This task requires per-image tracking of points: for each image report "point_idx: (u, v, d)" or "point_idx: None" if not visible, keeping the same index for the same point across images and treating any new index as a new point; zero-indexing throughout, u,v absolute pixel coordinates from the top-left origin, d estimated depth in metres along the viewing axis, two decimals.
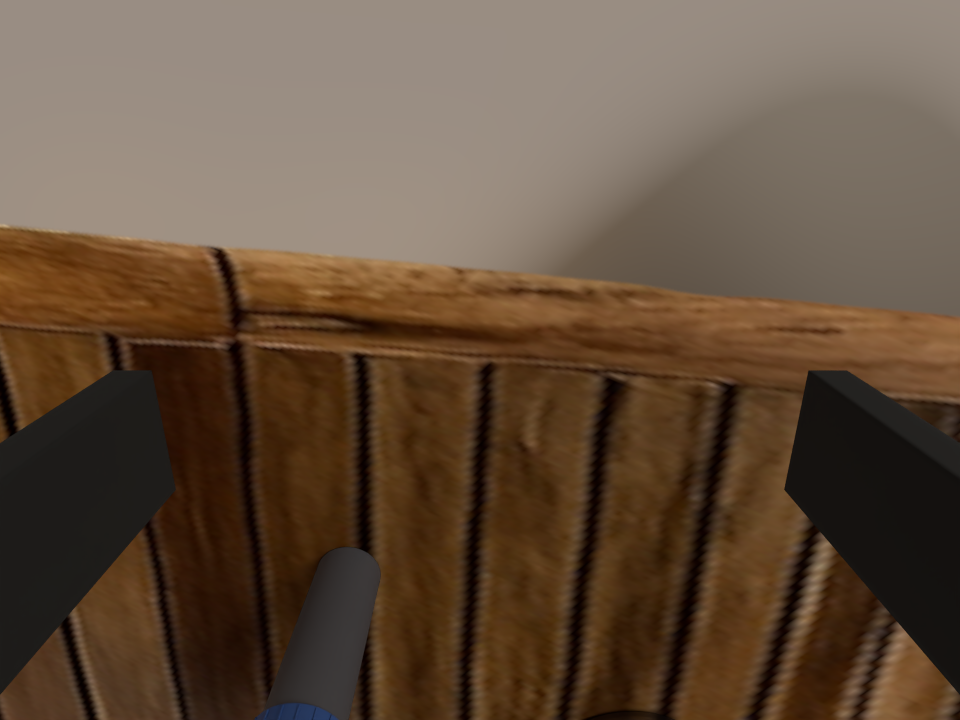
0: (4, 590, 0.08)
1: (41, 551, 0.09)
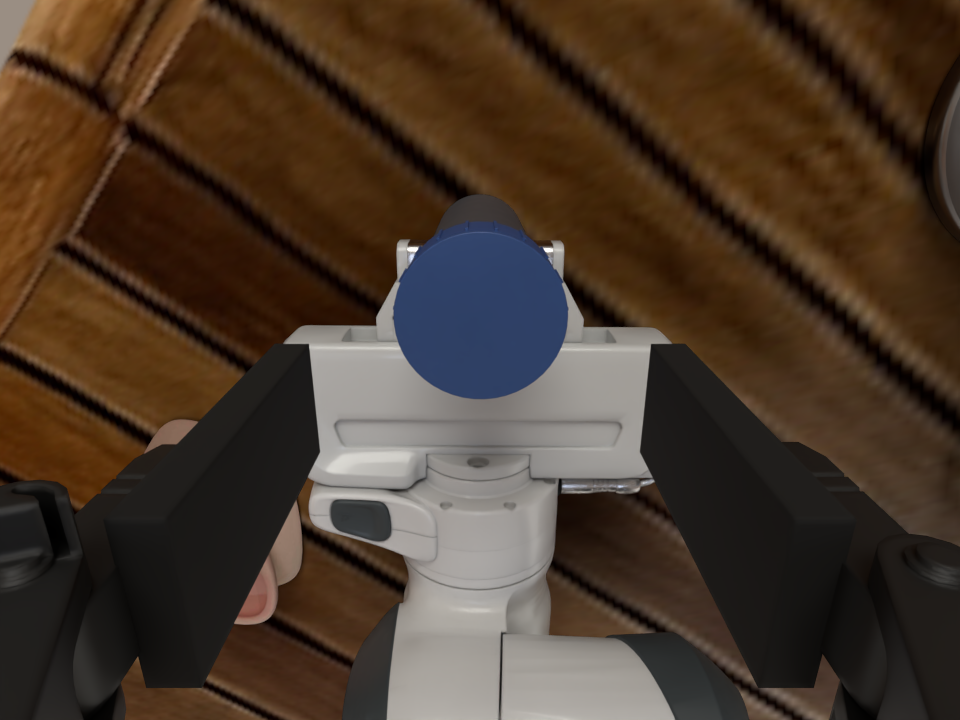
0: (243, 519, 0.10)
1: (260, 491, 0.10)
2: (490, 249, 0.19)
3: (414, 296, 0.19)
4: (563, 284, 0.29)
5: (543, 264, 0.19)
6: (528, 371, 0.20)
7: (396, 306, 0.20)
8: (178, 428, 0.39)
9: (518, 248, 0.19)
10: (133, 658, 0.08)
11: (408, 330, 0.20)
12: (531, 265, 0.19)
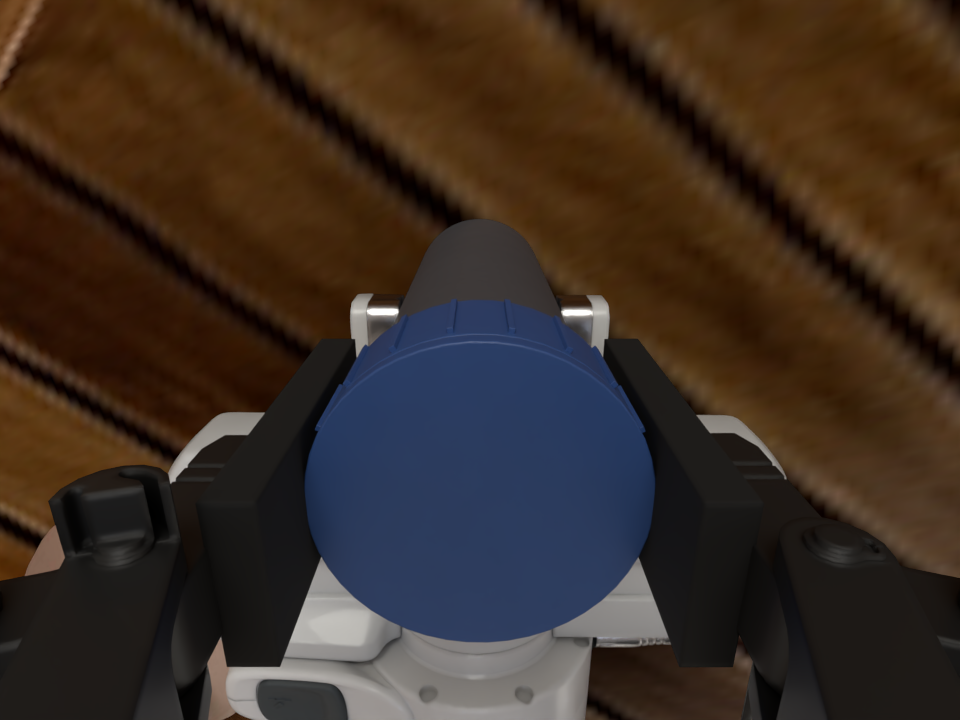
0: None
1: None
2: (500, 376, 0.09)
3: (344, 465, 0.10)
4: None
5: (610, 405, 0.09)
6: (573, 596, 0.10)
7: (308, 483, 0.10)
8: None
9: (559, 374, 0.09)
10: (218, 638, 0.08)
11: (335, 526, 0.10)
12: (585, 407, 0.09)
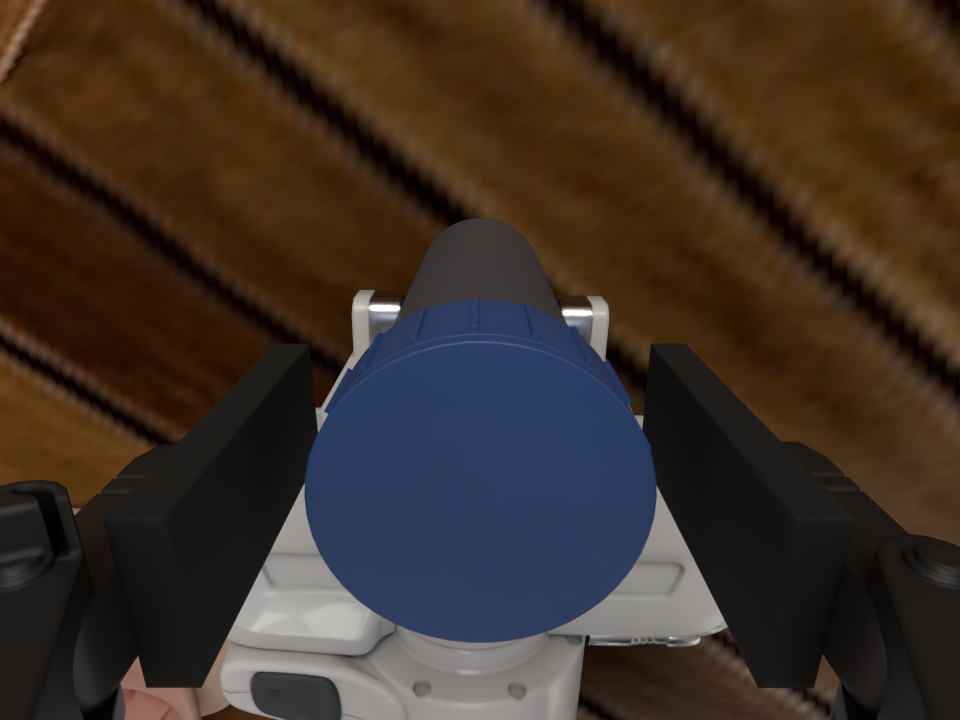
0: (243, 519, 0.10)
1: (260, 491, 0.10)
2: (350, 445, 0.09)
3: (392, 592, 0.10)
4: None
5: (414, 363, 0.09)
6: (625, 462, 0.10)
7: (399, 622, 0.11)
8: None
9: (365, 398, 0.09)
10: (133, 658, 0.08)
11: (449, 621, 0.11)
12: (408, 386, 0.09)
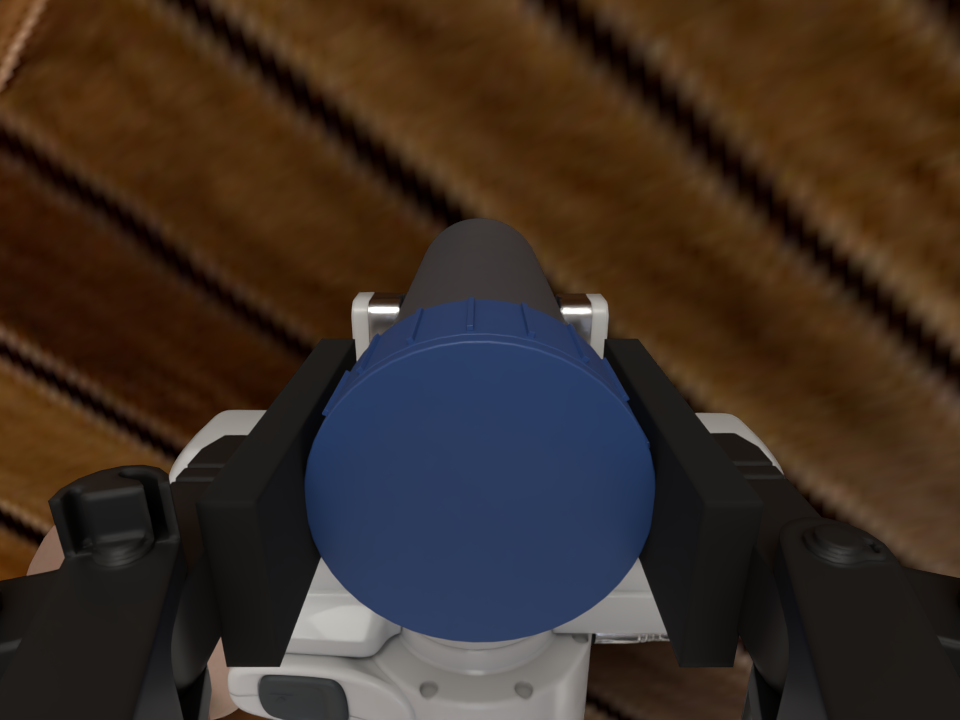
0: None
1: None
2: (348, 447, 0.09)
3: (393, 593, 0.10)
4: None
5: (410, 364, 0.09)
6: (623, 459, 0.10)
7: (401, 623, 0.11)
8: None
9: (362, 400, 0.09)
10: (218, 639, 0.08)
11: (452, 621, 0.11)
12: (404, 386, 0.09)
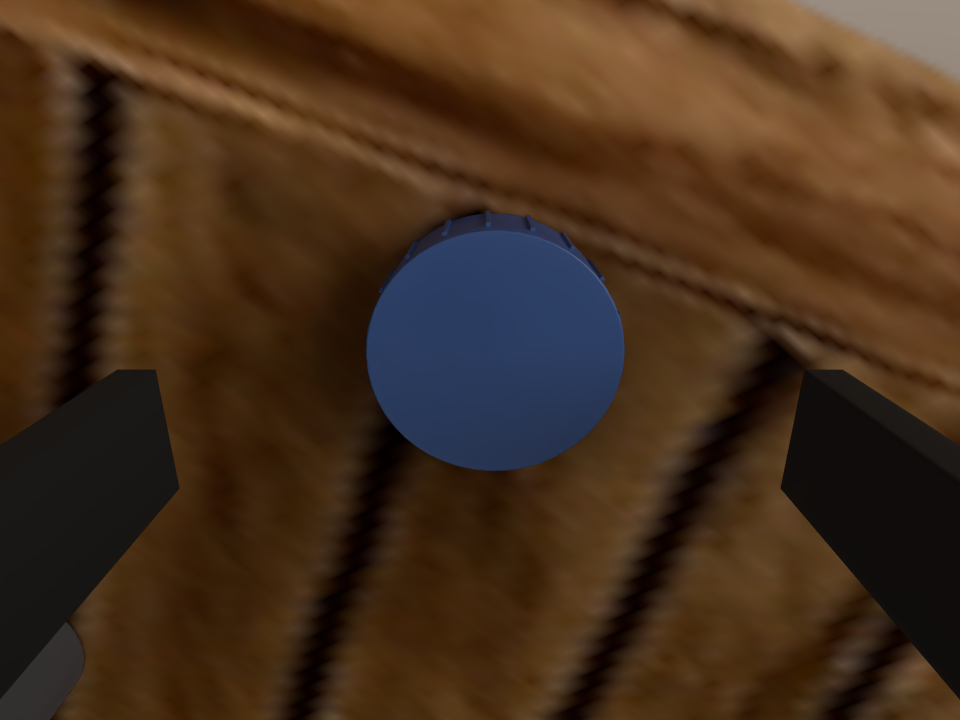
0: (11, 587, 0.08)
1: (47, 549, 0.09)
2: (399, 313, 0.13)
3: (430, 429, 0.14)
4: None
5: (445, 248, 0.12)
6: (600, 322, 0.13)
7: (435, 455, 0.14)
8: None
9: (410, 275, 0.13)
10: None
11: (473, 453, 0.14)
12: (441, 265, 0.13)
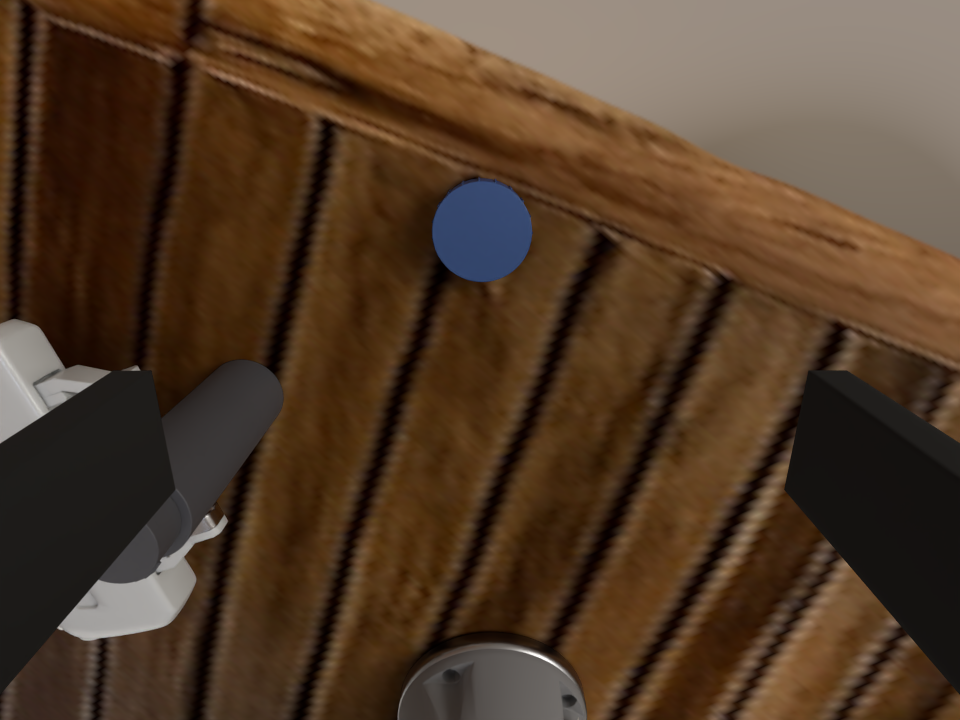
0: (4, 590, 0.08)
1: (41, 551, 0.09)
2: (445, 213, 0.34)
3: (456, 263, 0.35)
4: (191, 544, 0.36)
5: (463, 188, 0.34)
6: (521, 217, 0.34)
7: (458, 274, 0.35)
8: None
9: (450, 198, 0.34)
10: None
11: (473, 273, 0.35)
12: (461, 194, 0.34)
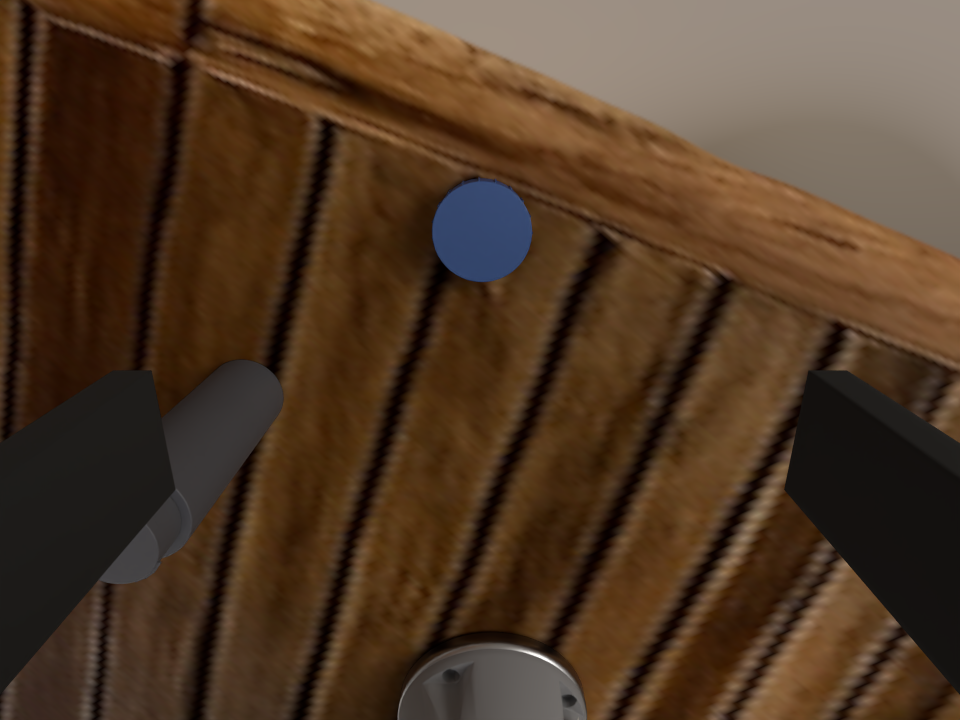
0: (4, 590, 0.08)
1: (42, 551, 0.09)
2: (445, 213, 0.34)
3: (456, 263, 0.35)
4: None
5: (463, 188, 0.34)
6: (521, 217, 0.34)
7: (458, 274, 0.35)
8: None
9: (450, 198, 0.34)
10: None
11: (473, 273, 0.35)
12: (461, 194, 0.34)
